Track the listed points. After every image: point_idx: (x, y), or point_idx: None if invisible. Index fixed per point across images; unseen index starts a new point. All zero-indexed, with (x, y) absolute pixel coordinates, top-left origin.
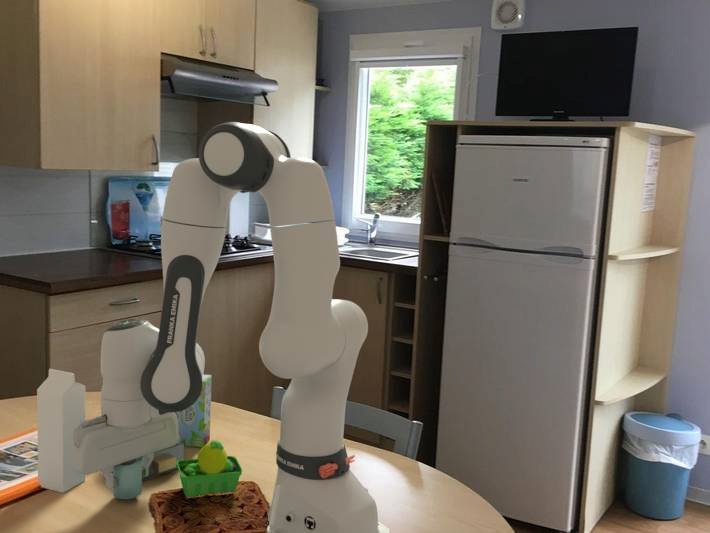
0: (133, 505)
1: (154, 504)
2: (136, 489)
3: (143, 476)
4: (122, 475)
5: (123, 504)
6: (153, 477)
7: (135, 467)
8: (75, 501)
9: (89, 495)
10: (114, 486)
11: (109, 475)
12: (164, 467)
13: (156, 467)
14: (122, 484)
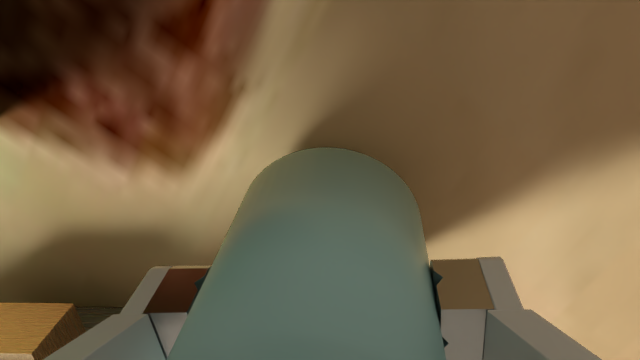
0: (350, 113)
1: (230, 35)
2: (306, 173)
3: (193, 267)
4: (419, 306)
5: (391, 163)
6: (112, 308)
7: (281, 315)
8: None
9: None
10: (472, 262)
11: (571, 357)
12: (19, 319)
13: (64, 341)
14: (410, 246)
